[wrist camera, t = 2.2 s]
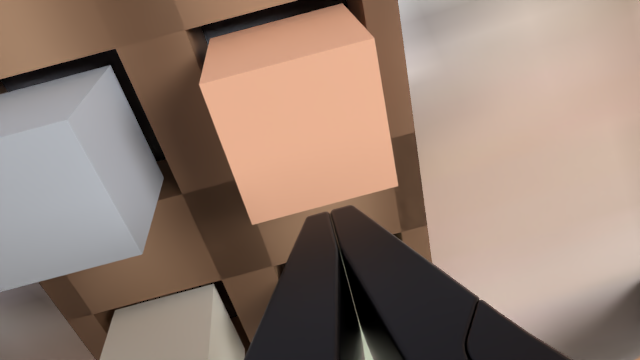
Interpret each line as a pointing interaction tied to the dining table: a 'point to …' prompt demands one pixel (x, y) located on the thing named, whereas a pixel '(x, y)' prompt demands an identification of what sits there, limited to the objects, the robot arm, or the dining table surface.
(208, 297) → the cream white cube
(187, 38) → the brown shallow tray
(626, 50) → the dining table surface
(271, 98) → the key terracotta
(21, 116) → the key slate
